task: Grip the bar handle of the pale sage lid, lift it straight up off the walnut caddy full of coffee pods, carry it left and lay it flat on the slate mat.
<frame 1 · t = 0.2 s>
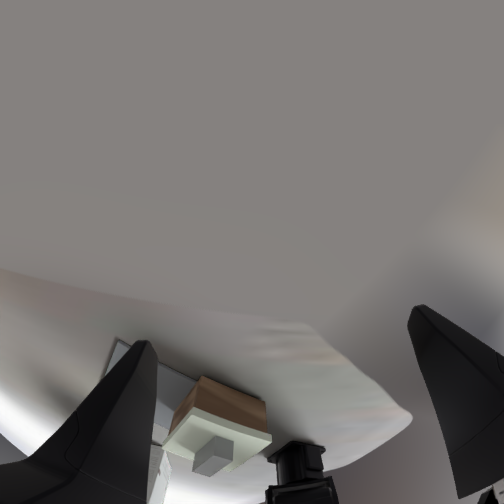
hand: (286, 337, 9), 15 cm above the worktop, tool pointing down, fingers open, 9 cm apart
skincare box: (151, 453, 34), on the worktop
caddy: (217, 408, 29), resting on mat
lid: (214, 441, 24), point 5 cm above the worktop, touching caddy
mat: (166, 400, 29), on the worktop
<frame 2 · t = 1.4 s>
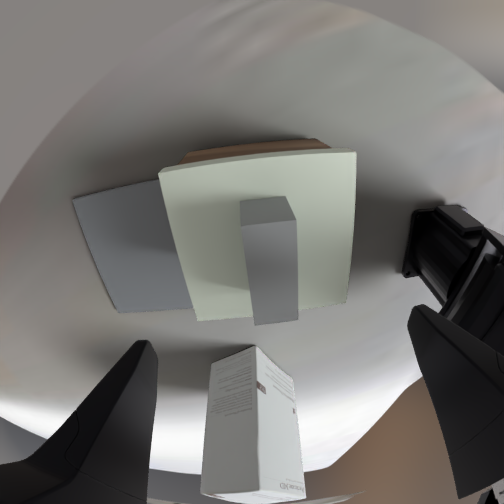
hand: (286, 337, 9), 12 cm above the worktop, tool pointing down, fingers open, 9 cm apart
skincare box: (251, 369, 29), on the worktop
caddy: (258, 202, 19), resting on mat
lid: (265, 237, 14), point 5 cm above the worktop, touching caddy
mat: (187, 248, 20), on the worktop
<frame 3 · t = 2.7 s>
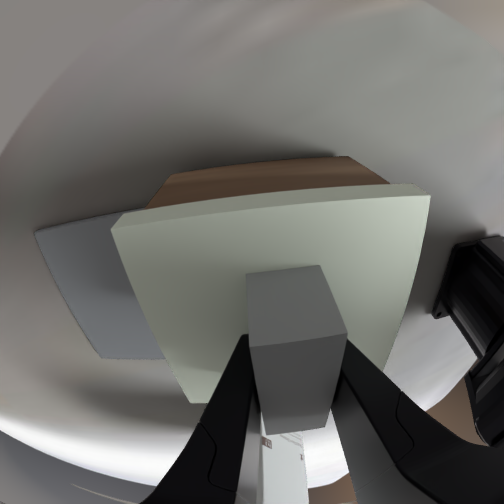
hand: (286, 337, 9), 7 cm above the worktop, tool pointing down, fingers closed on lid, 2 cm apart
skincare box: (254, 412, 24), on the worktop
caddy: (268, 241, 14), resting on mat
lid: (282, 312, 10), point 5 cm above the worktop, touching caddy, gripper
mat: (176, 294, 16), on the worktop
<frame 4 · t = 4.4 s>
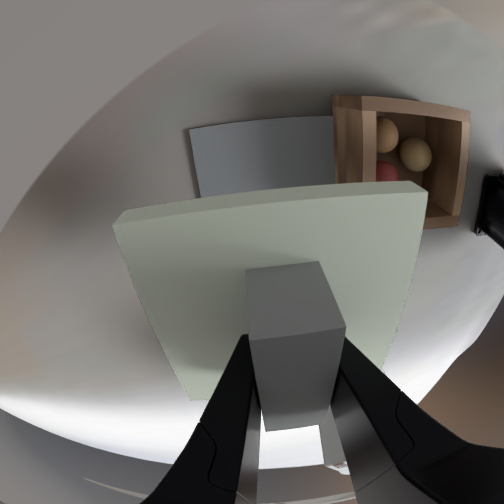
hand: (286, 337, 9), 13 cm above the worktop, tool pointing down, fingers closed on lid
skincare box: (337, 334, 28), on the worktop
caddy: (384, 150, 18), resting on mat
lid: (281, 308, 10), point 12 cm above the worktop, touching gripper
mat: (313, 191, 20), on the worktop
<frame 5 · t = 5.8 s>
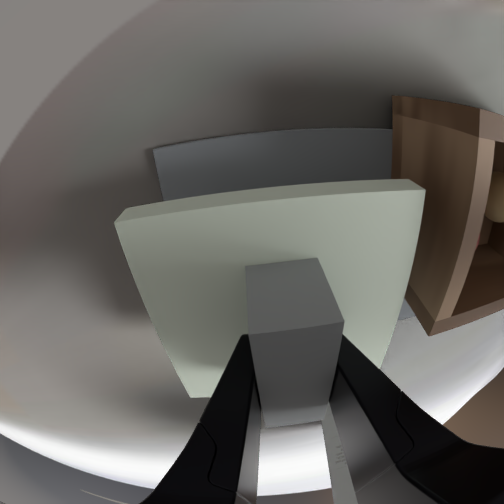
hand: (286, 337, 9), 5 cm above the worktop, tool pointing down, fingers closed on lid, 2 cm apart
skincare box: (357, 397, 21), on the worktop
caddy: (454, 185, 11), resting on mat
lid: (281, 305, 10), point 3 cm above the worktop, touching gripper
mat: (352, 245, 13), on the worktop
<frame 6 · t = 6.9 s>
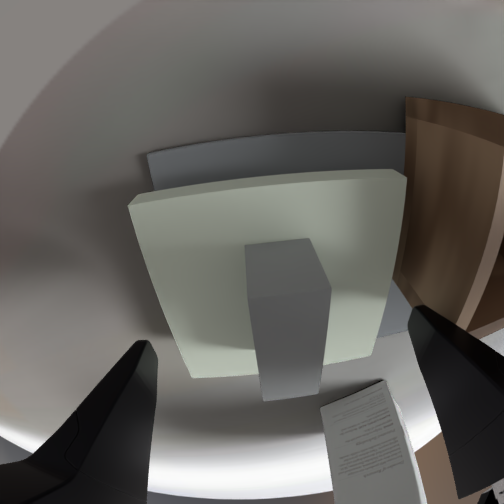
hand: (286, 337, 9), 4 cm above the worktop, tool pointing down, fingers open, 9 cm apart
skincare box: (361, 406, 20), on the worktop
caddy: (466, 192, 10), resting on mat
lid: (277, 285, 11), point 1 cm above the worktop, touching mat
mat: (360, 256, 12), on the worktop
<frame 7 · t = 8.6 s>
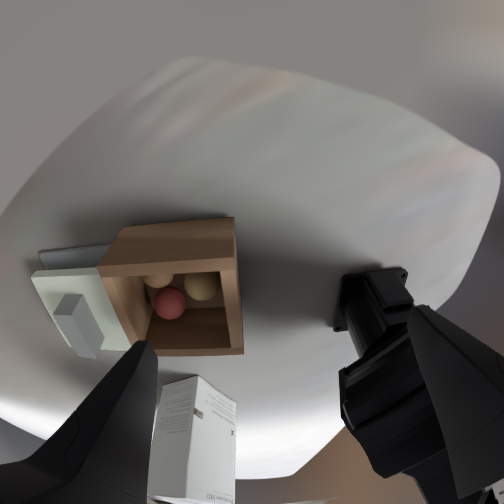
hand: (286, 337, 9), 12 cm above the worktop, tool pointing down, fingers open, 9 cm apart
skincare box: (198, 392, 31), on the worktop
caddy: (185, 270, 21), resting on mat
lid: (88, 309, 21), point 1 cm above the worktop, touching mat
mat: (131, 299, 23), on the worktop
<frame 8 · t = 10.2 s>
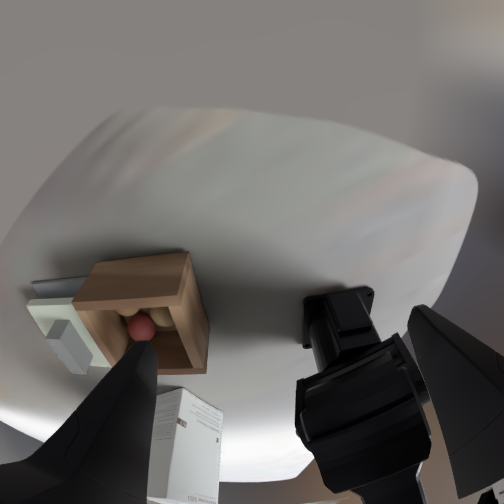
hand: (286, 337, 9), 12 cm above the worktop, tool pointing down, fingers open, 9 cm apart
skincare box: (186, 402, 33), on the worktop
caddy: (154, 297, 22), resting on mat
lid: (78, 331, 23), point 1 cm above the worktop, touching mat
mat: (114, 322, 24), on the worktop
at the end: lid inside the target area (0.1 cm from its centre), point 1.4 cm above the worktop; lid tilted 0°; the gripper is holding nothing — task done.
